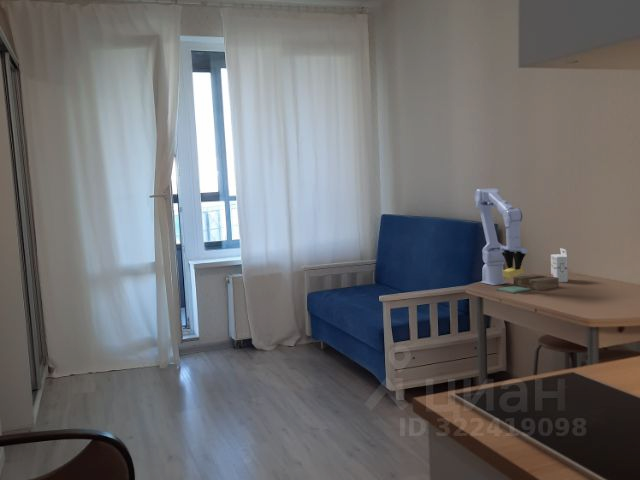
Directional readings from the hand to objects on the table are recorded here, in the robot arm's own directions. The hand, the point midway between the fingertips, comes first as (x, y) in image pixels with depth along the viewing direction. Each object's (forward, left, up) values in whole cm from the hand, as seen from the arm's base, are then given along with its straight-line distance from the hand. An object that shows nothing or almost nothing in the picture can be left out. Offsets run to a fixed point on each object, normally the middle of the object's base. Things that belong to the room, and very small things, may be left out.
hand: (514, 268), depth 267 cm
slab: (0, 0, -3) cm, 3 cm away
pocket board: (0, +13, -9) cm, 16 cm away
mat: (0, 0, -9) cm, 9 cm away
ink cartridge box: (-3, +30, -10) cm, 31 cm away
